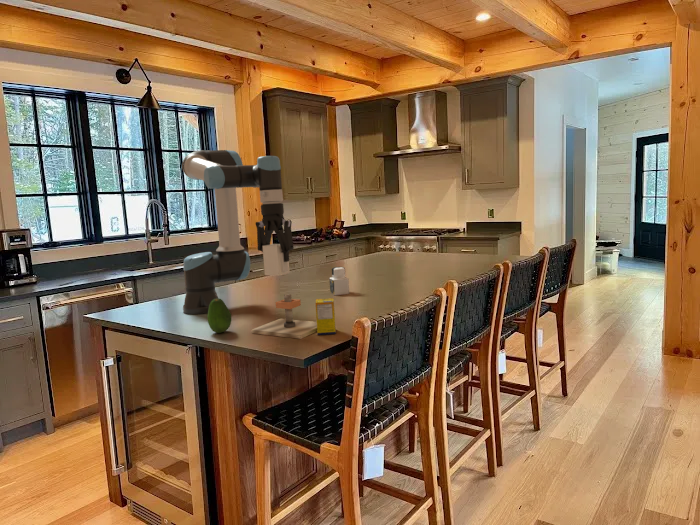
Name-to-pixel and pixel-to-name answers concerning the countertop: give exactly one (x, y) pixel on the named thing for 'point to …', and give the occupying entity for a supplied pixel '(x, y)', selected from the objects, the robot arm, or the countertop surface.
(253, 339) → the countertop surface
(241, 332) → the countertop surface
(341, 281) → the medicine bottle
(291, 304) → the ring
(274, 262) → the sleeve
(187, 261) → the robot arm
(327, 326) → the supplement box
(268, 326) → the pipe stand
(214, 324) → the avocado
